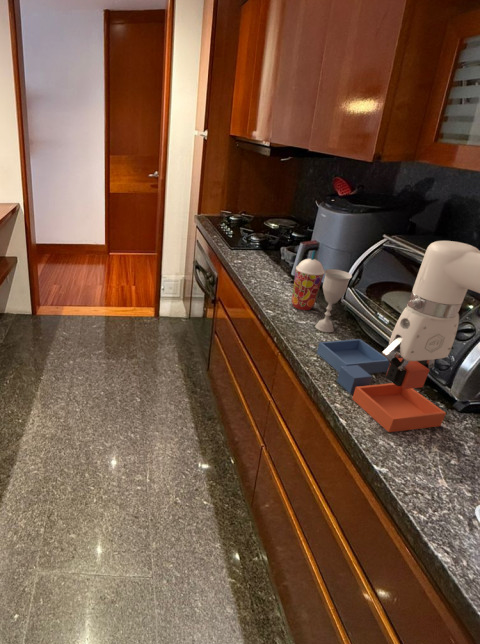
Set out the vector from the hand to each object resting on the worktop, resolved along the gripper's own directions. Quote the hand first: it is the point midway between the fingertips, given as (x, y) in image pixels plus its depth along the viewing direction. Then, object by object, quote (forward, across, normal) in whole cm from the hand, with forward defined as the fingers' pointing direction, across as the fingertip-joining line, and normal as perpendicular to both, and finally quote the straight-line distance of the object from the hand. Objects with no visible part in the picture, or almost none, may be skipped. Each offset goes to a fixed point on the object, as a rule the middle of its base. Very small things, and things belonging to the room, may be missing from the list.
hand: (404, 380), depth 82 cm
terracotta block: (0, 0, 0) cm, 0 cm away
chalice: (+9, +9, +35) cm, 37 cm away
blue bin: (+9, +4, +18) cm, 20 cm away
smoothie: (+9, +11, +49) cm, 51 cm away
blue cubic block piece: (+9, -3, +9) cm, 13 cm away
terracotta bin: (+8, 0, 0) cm, 8 cm away
